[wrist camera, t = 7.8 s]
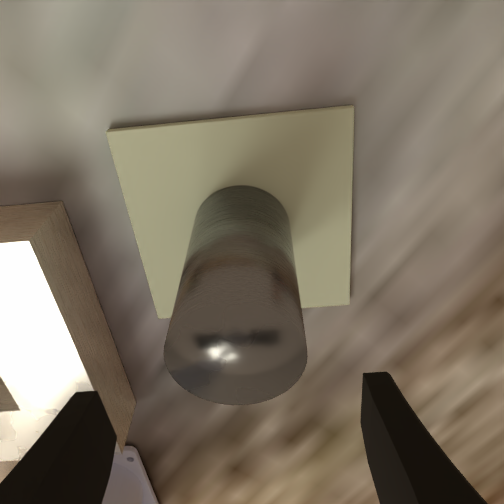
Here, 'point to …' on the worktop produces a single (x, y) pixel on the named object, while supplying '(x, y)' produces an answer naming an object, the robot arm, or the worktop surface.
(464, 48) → the worktop surface
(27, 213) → the housing
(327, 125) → the mat
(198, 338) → the grey cylinder
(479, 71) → the worktop surface
